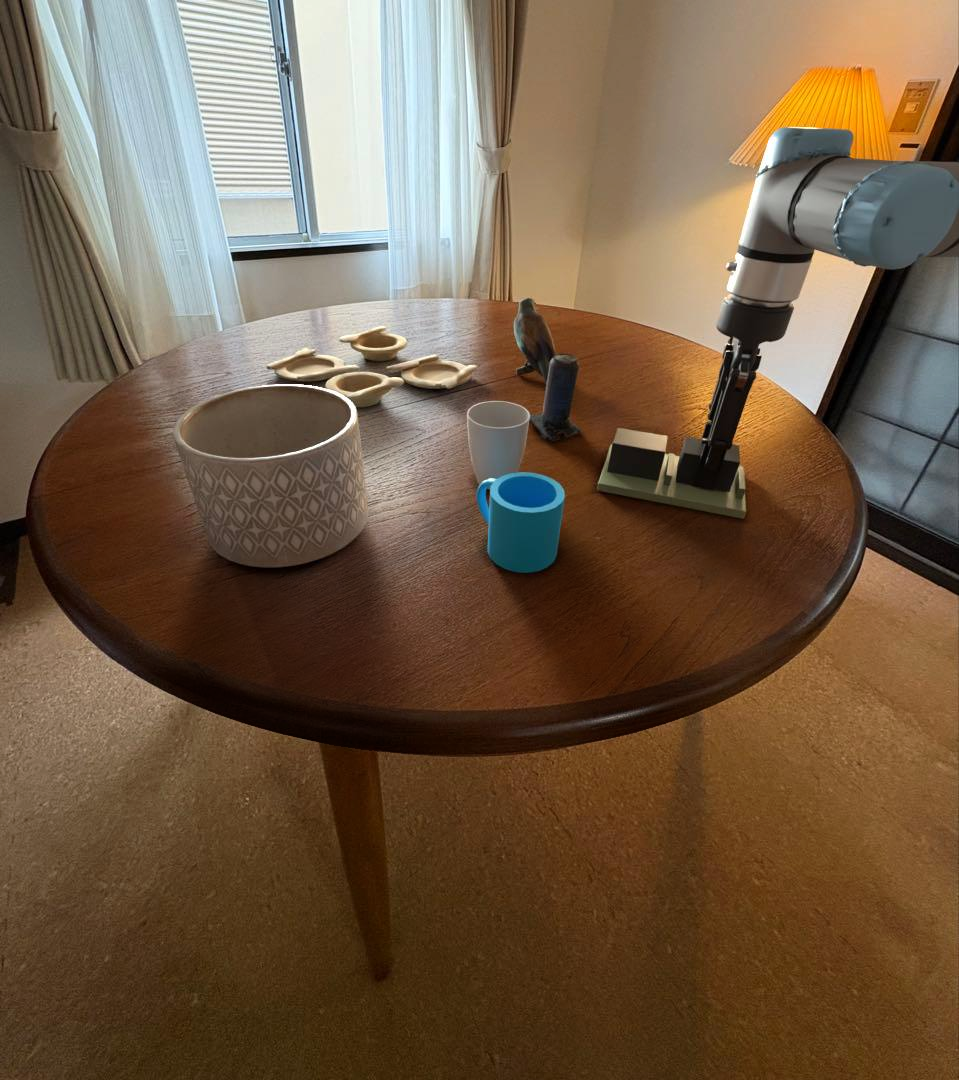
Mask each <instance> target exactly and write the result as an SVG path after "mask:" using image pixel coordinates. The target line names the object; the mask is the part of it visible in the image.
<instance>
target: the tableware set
mask: <svg viewBox="0 0 959 1080" xmlns="http://www.w3.org/2000/svg"><path fill="white" fill-rule="evenodd" d="M386 331H387V327H386V326H384V325H381V326H377V327H374V328H371V329H368V330H365V331H363V332H360V333H355V334H347V335H346V334H345V335H343V336H340V337H339V338H338V341H339V342H340V343H343V344H349V345H350V348H351V349H352V350H354V351H356V352H359V353H360V354H361V355H362V356H363V358H365V359H366V360H367V361H373V362H385V361H391V360H393V359H395V358H396V356H397V354H398V353H399V352H400V351H402V350H405V348H406V347H407V346H408V340H407V339H406V338H405V336H401V335H398V334H395V333H385V332H386ZM317 352H318V350H317V349H313V348H308V347H305V348H302V349H300V350H298V351H296V352H295V354H293V355H290V356H287V357H284V358H282V359H279V360H276V361H274V362H270V363H268V364H266V366H265V367H266V369H267V370H271V371H272V370H273V371H274V373H275V375H276V376H277V377H278V378H281V379H284V380H286V381H293V382H316V381H317V382H319V381H323V380H327V381H326V382H325V385H324V389H328V390H331V391H334V392H336V393H339V394H341V395H343V396H344V397H346V398H347V399H349V400H350V401H351V402H352V403H353V404H354V405H355V407H356V408H366V407H371V406H374V405H376V404H378V403H379V402H380V401H381V399H382V397H383V396H384V395H385V394H388V393H389V392H391V391H392V389H393V388H399V387H400V386H402V385H403V384H404V383H407V384H409V385H411V386H414V387H417V388H422V389H447V390H450V389H452V388H454V387H458V386H460V385H461V386H462V385H463V384H466V383H467V382H468V381H470V379H471V378H472V374H473V373H474V372H476V371H477V370H478V366H477V365H476V364H469V365H465V364H463V363H460V362H456V361H450V360H443V359H442V360H441V359H440V355H439V354H432V355H428V356H423V357H419V358H415V359H412V360H408V361H404V362H400V363H397V364H396V363H395V364H392V365H388V366H386V367H385V368H386V371H387V372H390V373H395V372H399V371H400V377H397V376H396V377H395V376H393V377H389V376H387V375H385V374H381V373H379V372H378V373H377V372H371V371H370V372H369V371H360V369H361V368H360V366H359V365H357V364H348V365H346V363H345V362H344V360H342V359H341V358H339V357H336V356H332V355H328V354H316V353H317Z"/></svg>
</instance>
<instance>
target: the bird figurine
mask: <svg viewBox="0 0 959 1080" xmlns="http://www.w3.org/2000/svg"><path fill="white" fill-rule="evenodd" d="M536 305H537V302H536V301H535V299H533V298H532V297H525V298H523V299H521V300H520V301H519V303H518V311H517V312H518V313H517V316H516V317H514V320H513V333H514V339H515V341H516V343H517V346H518V348H519V351H520V352H521V353H522V355H523V357H524V358H525V359H526V360H525V362H524V364H523V366H521V367H518V368H516V369H515V373H516V375H517V376H522V375H525V374H528V373H533V372H535V371H536V373H538V374H539V375H540V376H541V378H543V380H544V383H545V385H547V378H548V372H549V365H550V361H551V359H552V358H553V357H554V355H555V354H557V351H556V348H555V344H554V339H553V336H552V333H551V330H550V328H549V326H548V323H547V319H546V317H545V316H543V315H542V314H541V313H539V312H538V311H537V310H536ZM568 354H569V355H570V353H568ZM528 363H529V364H528Z"/></svg>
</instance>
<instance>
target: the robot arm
mask: <svg viewBox="0 0 959 1080" xmlns="http://www.w3.org/2000/svg"><path fill="white" fill-rule="evenodd" d="M853 143H854V133H853V132H852V130H850V129H845V128H844V129H843V128H831V127H830V128H827V127H803V126H802V127H801V126H800V127H799V126H783V127H781V128H778V129H777V130H776V131H774V132H773V133H772V134H771V136H770V137H769V140H768V142H767V145H766V148H765V151H764V154H763V157H762V159H761V160H762V161H761V164H760V166H759V170H757V173H755V178H754V180H755V181H754V185H753V189H752V193H751V197H750V200H749V203H748V208H747V211H746V215H745V219H744V223H743V226H742V231H741V234H740V238H739V241H738V246H737V250H736V254H735V260H736V261H729V262H727V263H726V267H725V269H726V271H727V272H731V273H730V275H729V279H728V283H727V286H726V290H727V291H728V294H727V295H726V296H724V297H723V299H722V302H721V305H720V310H719V312H718V316H717V319H716V323H715V324H716V325H715V327H716V329H717V331H718V332H719V333H720V334H721V335H724V336H725V337H728V339H727V343H725V345H724V348H723V350H722V362H721V363H720V367H719V371H718V378H717V380H716V383H715V387H714V390H713V394H712V398H711V401H710V403H709V405H708V411H709V412H708V413H707V420H708V421H706V422H705V426H704V430H703V432H702V435H701V438H700V439H702V440H701V444H704V448H703V451H702V454H701V458H700V461H699V464H698V467H697V471H696V474H695V477H694V481H693V485H692V486H694V487H699V488H705V489H710V490H714V487H715V484H716V481H717V478H718V475H719V472H720V469H721V466H722V463H723V460H724V457H725V454H726V451H727V450H730V449H731V447H732V444H733V441H734V438H735V436H736V433H737V430H738V427H739V424H740V421H741V417H742V415H743V412H744V409H745V407H746V403H747V400H748V397H749V394H750V391H751V390H752V387H753V384H754V382H755V381H756V379H757V371H758V370H759V368H760V364H761V361H762V356H763V355H762V354H761V348H760V347H759V346H760V345H761V344H762V343H766V342H767V343H773V342H777V341H779V340H781V339H782V338H784V336H785V335H786V332H787V330H788V327H789V324H790V321H791V318H792V315H793V312H794V310H795V307H794V304H793V302H794V301H796V300H798V299H799V297H800V295H801V292H802V288H803V286H804V283H805V280H806V277H807V275H808V272H809V269H810V267H811V264H812V261H813V257H814V254H815V251H818V252H821V253H824V254H828V255H831V256H834V257H836V258H841V259H843V260H847V261H849V262H853V264H854V265H856V266H860V267H865V268H866V267H875V268H880V269H885V270H899V269H903V268H907V267H908V266H911V265H912V264H913V263H914V262H916V261H918V260H922V259H926V258H959V161H925V160H924V161H923V160H887V159H872V158H854V157H851V155H852V154H851V150H852V146H853ZM733 445H734V444H733Z"/></svg>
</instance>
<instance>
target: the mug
mask: <svg viewBox="0 0 959 1080" xmlns="http://www.w3.org/2000/svg"><path fill="white" fill-rule="evenodd" d="M489 486H491V487H490V489H489V505H488V502H487V496H486V494H487V490H488V489H487V488H488V487H489ZM565 494H566V493H565V489H564V488H563V487H562V485H561V484H560V482H558V481H556V480H555V479H554V478H552V477H549V476H546V475H545V474H541V473H536V472H529V471H528V472H527V471H520V472H519V471H518V473H510V474H507V475H504V476H501V477H500V478H498V479H494V478H490V479H488V480H485V481H483V482H482V483H481V484H480V485H478V487H477V489H476V495H475V497H476V504H477V507H478V510H479V512H480V514H481V516H482V518H483V519H484V521H485V522H486V523H487V524H488V529H487V530H488V532H487V554H488V555H489V558H490V560H492V561H493V563H495V564H496V565H497V566H499V567H501V568H502V569H505V570H507V571H511V572H514V573H526V574H528V573H534V572H535V573H536V572H539V571H542V570H544V569H547V568H549V566H551V565H552V564H553V563H554V562H555V561H556V557H557V555H558V548H559V541H560V535H561V534H560V533H561V526H562V520H563V513H564V505H565V497H566V495H565Z"/></svg>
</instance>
